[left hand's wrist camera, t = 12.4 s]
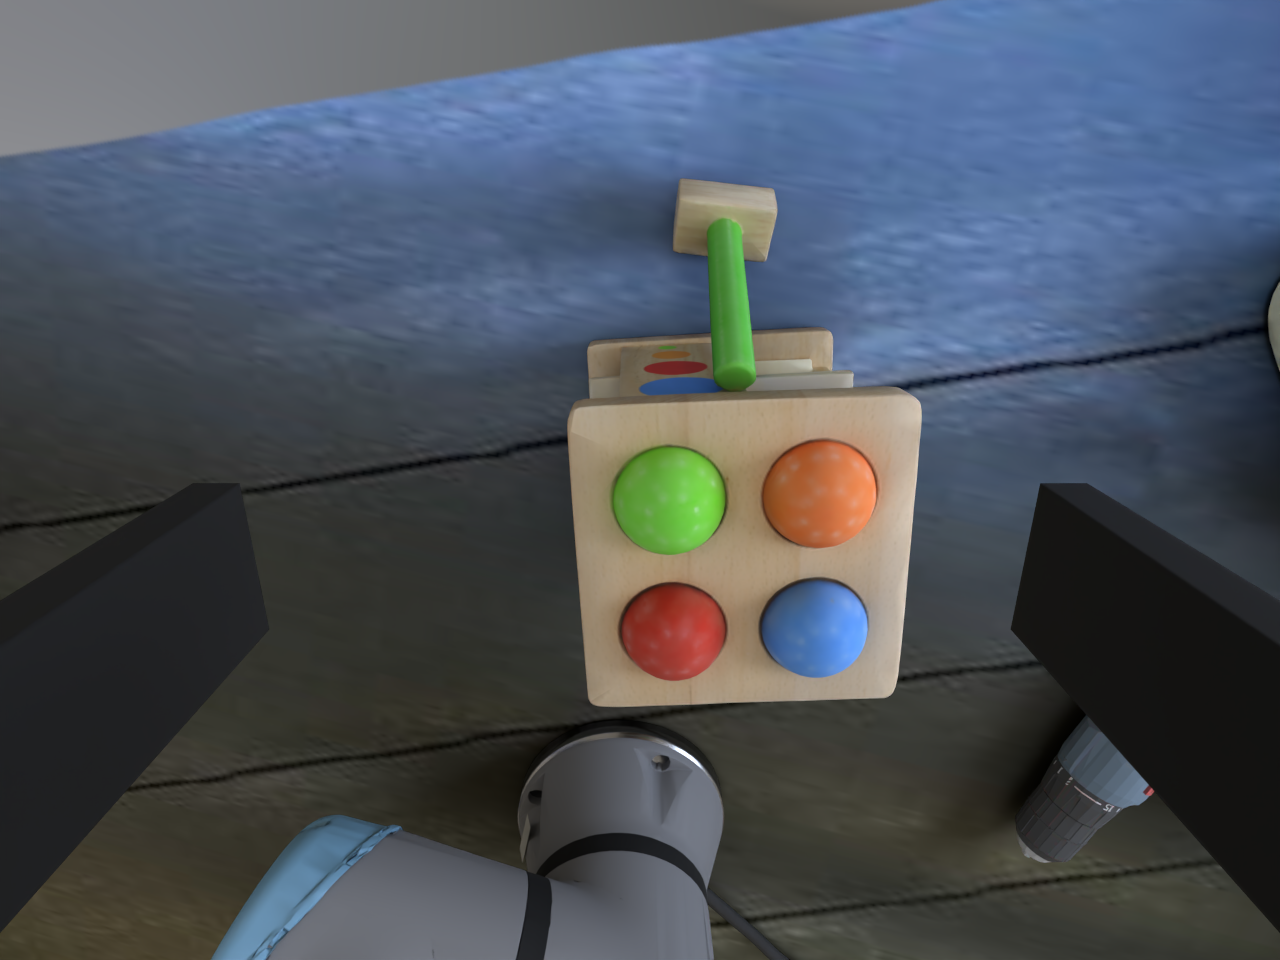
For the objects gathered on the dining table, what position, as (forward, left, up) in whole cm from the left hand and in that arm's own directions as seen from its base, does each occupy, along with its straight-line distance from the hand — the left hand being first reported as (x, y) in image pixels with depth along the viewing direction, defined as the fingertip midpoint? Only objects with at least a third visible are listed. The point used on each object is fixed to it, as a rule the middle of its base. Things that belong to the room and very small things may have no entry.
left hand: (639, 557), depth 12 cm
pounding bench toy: (-6, -2, -33) cm, 33 cm away
